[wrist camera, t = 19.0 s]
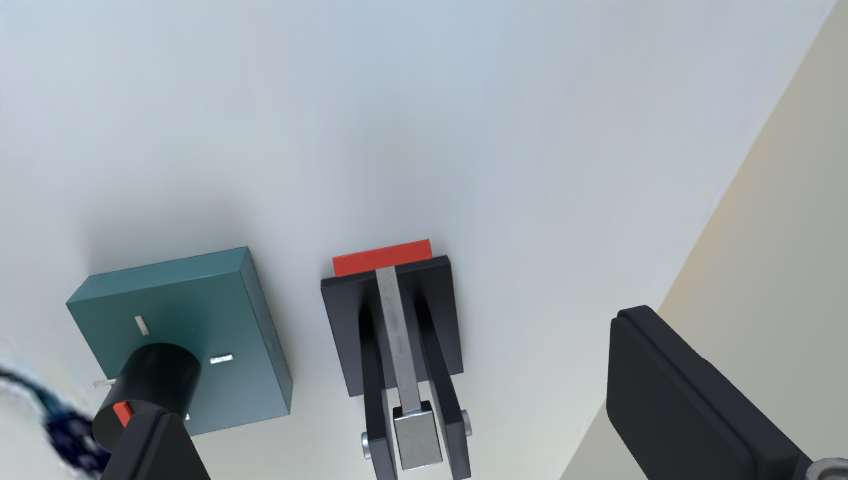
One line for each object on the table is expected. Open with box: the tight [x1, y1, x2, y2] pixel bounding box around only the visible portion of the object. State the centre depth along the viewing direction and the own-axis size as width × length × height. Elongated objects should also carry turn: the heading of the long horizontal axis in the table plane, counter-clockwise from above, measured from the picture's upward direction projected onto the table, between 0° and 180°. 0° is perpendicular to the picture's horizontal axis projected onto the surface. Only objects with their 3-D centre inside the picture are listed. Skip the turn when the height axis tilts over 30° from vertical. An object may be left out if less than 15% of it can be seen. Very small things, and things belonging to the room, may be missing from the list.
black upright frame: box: [321, 255, 472, 480], centre depth 31 cm, size 10×9×12 cm
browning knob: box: [92, 343, 201, 453], centre depth 29 cm, size 4×4×5 cm
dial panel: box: [66, 247, 293, 436], centre depth 33 cm, size 11×12×3 cm
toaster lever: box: [333, 239, 443, 471], centre depth 28 cm, size 12×6×2 cm, turn 8°
